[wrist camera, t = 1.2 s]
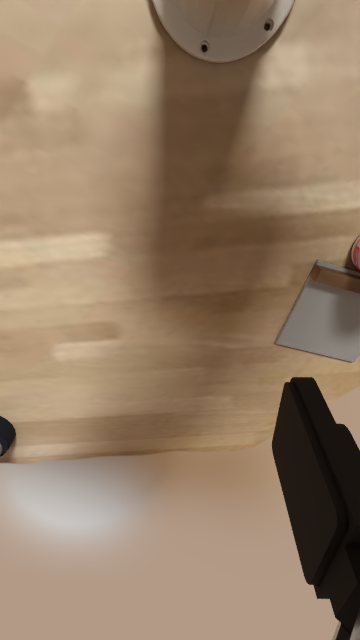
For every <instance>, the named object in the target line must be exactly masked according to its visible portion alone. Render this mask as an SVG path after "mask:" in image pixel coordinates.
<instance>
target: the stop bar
mask: <svg viewBox="0 0 360 640" xmlns="http://www.w3.org/2000/svg"><path fill="white" fill-rule="evenodd" d="M315 265H316V267H315V266H314V267H315V268H314V270H313V269H312V270H313V271H312V272H313V273H312V272H311V273H310V276H311V278H312V279H313V280H314V281H315V282H318V283H322V284H326V285H329V286H333V287H337V288H340V289H344V290H348V291H352V292H355V293H359V294H360V276H356V275H353V274H349V273H345V272H342V271H338V270H335V269H331V268H327V267H324V266H320V265H317V264H315Z"/></svg>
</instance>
